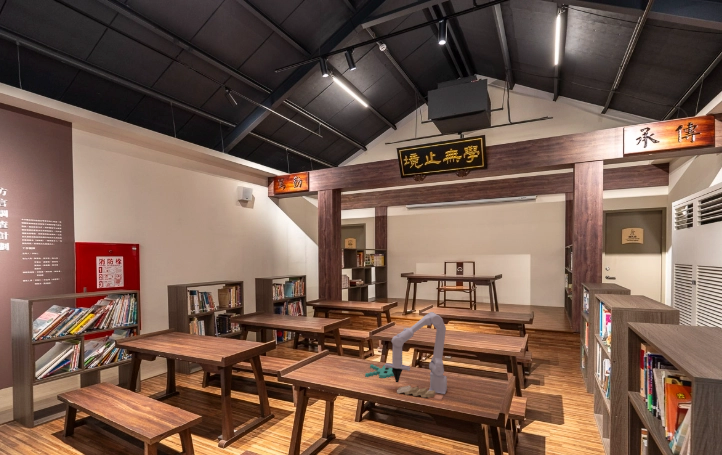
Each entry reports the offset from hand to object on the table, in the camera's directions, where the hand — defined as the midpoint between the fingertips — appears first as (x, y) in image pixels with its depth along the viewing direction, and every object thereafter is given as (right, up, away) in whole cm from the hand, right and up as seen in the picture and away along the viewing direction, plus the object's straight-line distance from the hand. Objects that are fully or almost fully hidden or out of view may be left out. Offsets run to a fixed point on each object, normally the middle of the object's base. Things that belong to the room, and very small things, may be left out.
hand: (397, 381), depth 205 cm
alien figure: (-6, -8, +31) cm, 33 cm away
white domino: (+1, -5, 0) cm, 5 cm away
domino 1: (+5, -5, -2) cm, 7 cm away
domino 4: (+17, -5, -7) cm, 19 cm away
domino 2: (+9, -5, -4) cm, 11 cm away
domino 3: (+13, -5, -6) cm, 15 cm away
